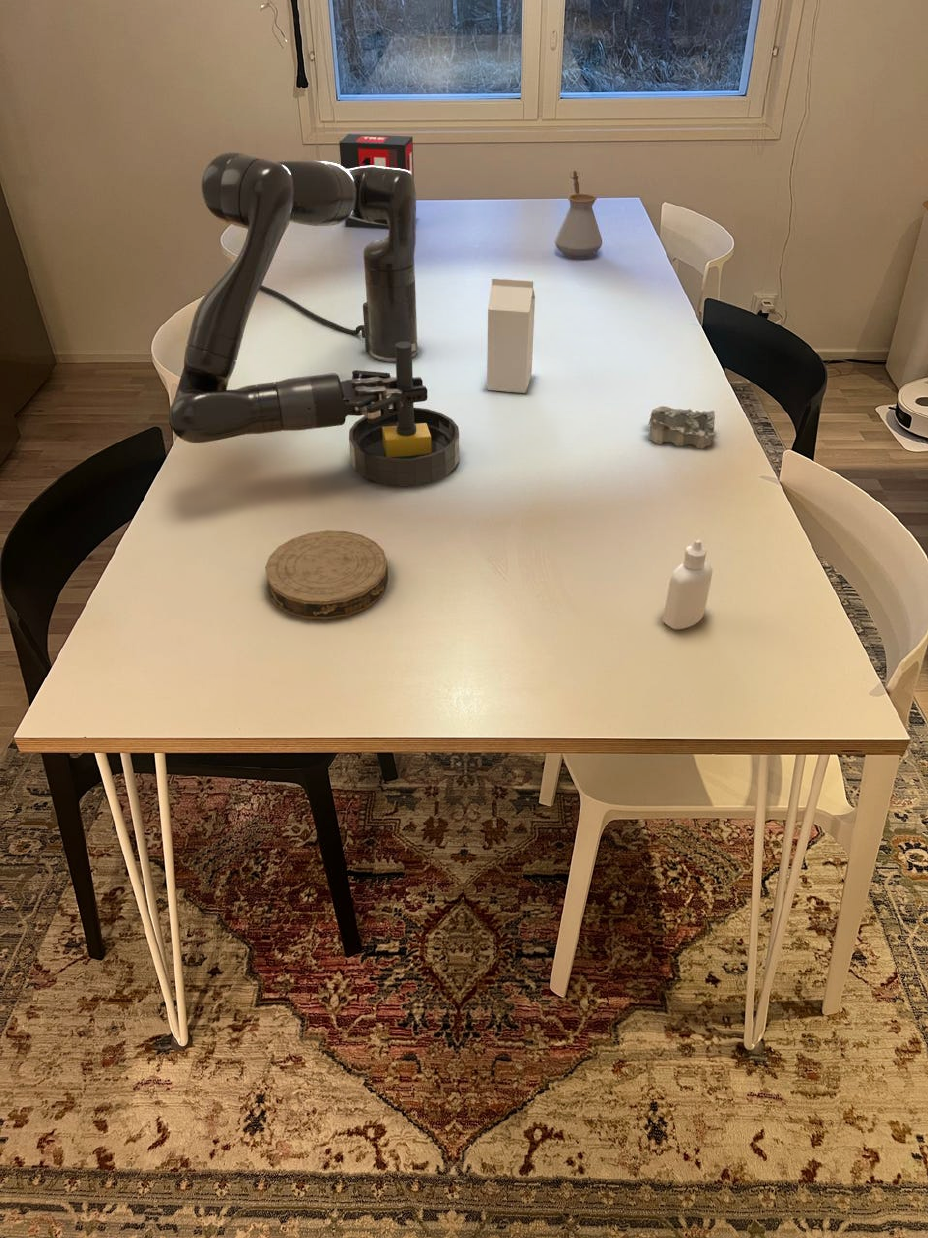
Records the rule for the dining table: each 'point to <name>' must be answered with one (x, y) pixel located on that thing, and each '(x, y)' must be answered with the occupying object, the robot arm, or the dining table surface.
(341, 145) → the cleaning product box
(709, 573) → the eye dropper bottle
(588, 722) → the dining table surface
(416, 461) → the bowl
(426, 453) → the sponge wand
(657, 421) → the egg carton
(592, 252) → the coffee pot
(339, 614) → the wood slice
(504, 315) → the milk carton
